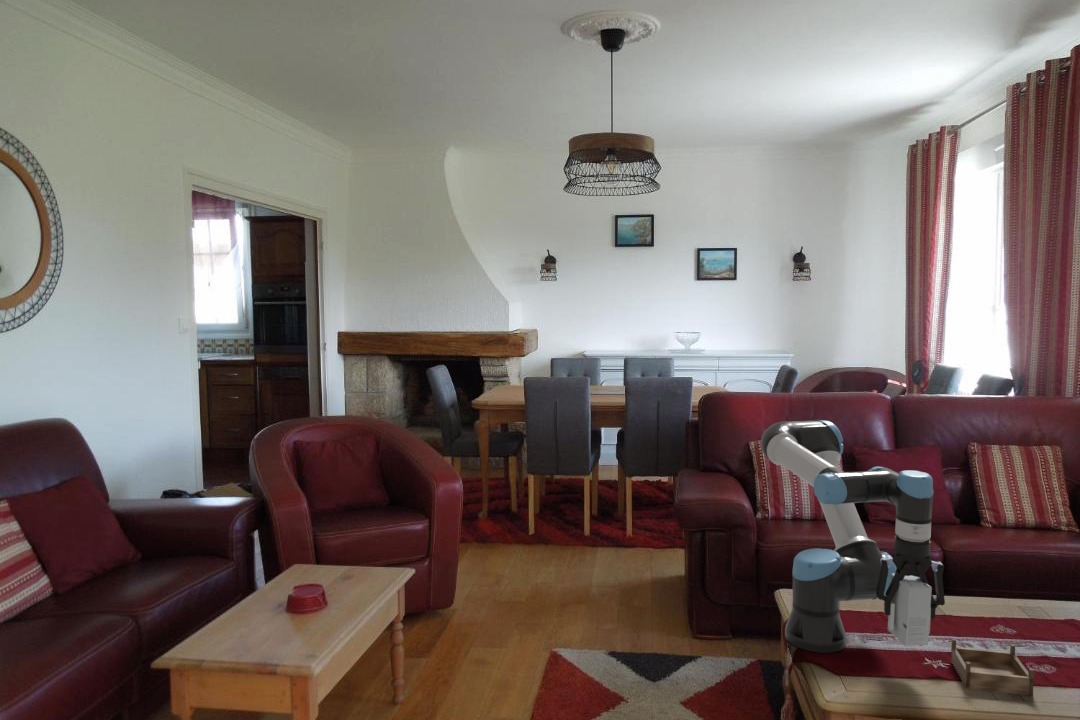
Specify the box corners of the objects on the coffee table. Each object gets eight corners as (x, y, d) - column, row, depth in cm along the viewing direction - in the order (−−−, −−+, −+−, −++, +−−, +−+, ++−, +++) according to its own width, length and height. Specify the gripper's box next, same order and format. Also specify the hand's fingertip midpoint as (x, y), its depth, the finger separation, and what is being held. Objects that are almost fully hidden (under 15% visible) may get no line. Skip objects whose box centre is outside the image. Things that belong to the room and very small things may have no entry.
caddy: (965, 688, 170) (966, 663, 170) (950, 661, 182) (951, 638, 182) (1032, 695, 166) (1034, 670, 166) (1013, 668, 179) (1014, 644, 178)
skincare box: (887, 630, 181) (888, 572, 179) (910, 629, 181) (911, 571, 180) (906, 647, 173) (907, 586, 171) (931, 645, 173) (932, 585, 171)
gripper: (869, 538, 173) (865, 631, 176) (964, 546, 168) (959, 641, 170) (864, 528, 180) (861, 617, 183) (955, 534, 175) (950, 626, 178)
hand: (908, 629), depth 177 cm, fingers closed on skincare box, 7 cm apart
